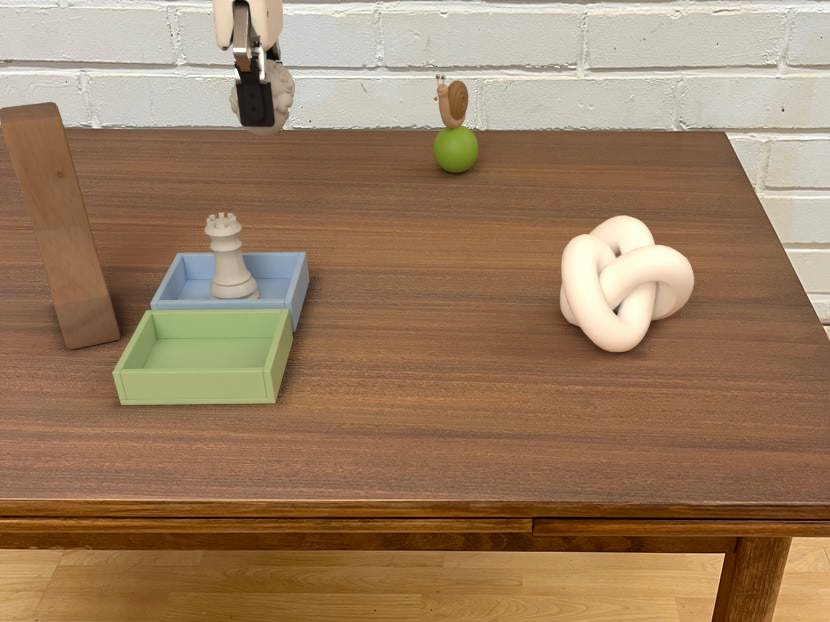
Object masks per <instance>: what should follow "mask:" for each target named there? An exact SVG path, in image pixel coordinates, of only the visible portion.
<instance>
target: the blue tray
mask: <svg viewBox="0 0 830 622" xmlns="http://www.w3.org/2000/svg"><path fill="white" fill-rule="evenodd" d="M241 254H242V257H243V260H244V263H245V266H246V268H247V270H248V271H249V272H250V275H251V276H252V277H253V278H254V279H255V280H256V282H257V288H256V289H257V290H258V291H259V297H258V299H233V300H211V295H212V294H211V293H210V283H211V282H212V281H213V280H212V276H213V275H214V271H215V264H214V254H213V252H177V253H176V255H175V257H174V259H173V261H172V263H171V264H170V266H169V268H168V270H167V272H166V273H165V275H164V277H163V279H162V281H161V283H160V285H159V286H158V288H157V290H156V292H155V293H154V295H153V297H152V299H151V301H150V302H149V304H150V305H149V306H150V310H223V309H289V312H290V319H291V326H292V333H296V331H297V327H298V324H299V320H300V316H301V314H302V313H301V312H302V309H303V305H304V301H305V298H306V294H307V291H308V287H309V284H310V274H309V273H310V272H309V265H308V256H307V252H306V251H276V252H275V251H266V252H265V251H263V252H261V251H260V252H259V251H258V252H257V251H255V252H250V251H248V252H243V251H241Z"/></svg>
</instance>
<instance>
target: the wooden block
mask: <svg viewBox="0 0 830 622" xmlns="http://www.w3.org/2000/svg"><path fill="white" fill-rule="evenodd" d="M0 128H1V132H2V134H3V138H4V141H5V144H6V147H7V151H8V154H9V157H10V160H11V164H12V166H13V169H14V173H15V177H16V180H17V183H18V186H19V190H20V193H21V196H22V200H23V202H24V206H25V209H26V213H27V216H28V218H29V222H30V225H31V228H32V232H33V235H34V238H35V242H36V245H37V248H38V252H39V255H40V259H41V261H42V265H43V269H44V272H45V276H46V278H47V284H48V287H49V291H50V295H51V300H52V304H53V308H54V311H55V314H56V318H57V321H58V325H59V327H60V331H61V334H62V337H63V341H64V345H65V346H66V347H67V349H68V350H75V349H79V348H86V347H91V346H95V345H100V344H105V343H110V342H116V341H118V340H120V338H121V333H120V328H119V326H118V325H119V324H118V321H117V317H116V314H115V310H114V306H113V302H112V299H111V295H110V292H109V288H108V284H107V282H106V278H105V275H104V271H103V267H102V264H101V260H100V257H99V256H100V255H99V253H98V249H97V246H96V242H95V241H96V240H95V238H94V235H93V230H92V227H91V223H90V219H89V215H88V212H87V209H86V205H85V201H84V197H83V193H82V190H81V185H80V182H79V178H78V175H77V171H76V167H75V163H74V160H73V156H72V152H71V148H70V145H69V141H68V138H67V137H68V136H67V134H66V130H65V126H64V122H63V119H62V115H61V113H60V109H59V106H58V104H57V103H56V102H53V101H47V102H40V103H39V102H38V103H30V104H22V105H21V104H20V105H14V106H6V107H1V108H0Z"/></svg>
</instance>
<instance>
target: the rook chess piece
mask: <svg viewBox="0 0 830 622" xmlns="http://www.w3.org/2000/svg"><path fill="white" fill-rule="evenodd" d="M217 215H218V217H216V214H210V215H208V217H207V218H206V225H205V227H204V228H203V229H204V231H203V232H204V233H205V234H206V235H207V236H208V237H209V238H210V241H211V243H210V244H209V249H211V250H212V253H213V254H214V264H215V271H214V275H213V276H212V280H213V281H212V282H211V283H210V293H211V294H212V295H211V300H233V299H258V297H259V291H258V290H257V289H256V288H257V282H256V280H255V279H254V278H253V277H252V276H251V275H250V272H249V271H248V270H247V268H246V266H245V263H244V260H243V257H242V254H241V253H242V250H241V247H242V245H243V242H242V240H240V239H239V234H240V233H241V231H242V229H243V225H242V224H241V223H240V222H239V221H237V216H236V215H234V213H232V212H228V213H227V217H225V212H218V213H217Z"/></svg>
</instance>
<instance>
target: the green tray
mask: <svg viewBox="0 0 830 622" xmlns="http://www.w3.org/2000/svg"><path fill="white" fill-rule="evenodd" d="M293 341H294V335H293V332H292V326H291V319H290V312H289V309H223V310H152V309H146V310H145V312H144V313H143V316H142V318H141V319H140V321H139V323H138V325H137V326H136V328H135V330H134V332H133V334H132V336H131V337H130V339H129V341H128V343H127V345H126V346H125V349H124V350H123V352H122V354H121V356H120V358H119V360H118V361H117V363H116V365H115V366H114V369H113V371H112V372H111V374H112V378H113V382H114V385H115V388H116V392H117V396H118V399H119V402H120V405H121V406H158V405H159V406H161V405H162V406H163V405H166V406H167V405H170V406H171V405H248V404H249V405H250V404H253V405H254V404H257V405H258V404H262V405H263V404H276V402H277V400H278V395H279V392H280V389H281V384H282V382H283V377H284V374H285V371H286V368H287V363H288V360H289V356H290V352H291V349H292V346H293Z"/></svg>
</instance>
